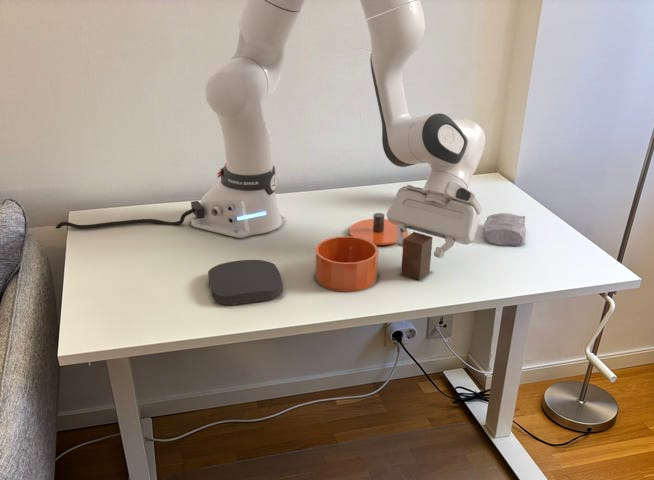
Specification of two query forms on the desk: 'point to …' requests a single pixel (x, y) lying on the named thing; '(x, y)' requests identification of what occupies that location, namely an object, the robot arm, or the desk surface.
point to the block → (416, 255)
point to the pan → (346, 263)
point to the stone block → (505, 229)
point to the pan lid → (376, 230)
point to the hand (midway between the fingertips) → (418, 251)
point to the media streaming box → (245, 281)
